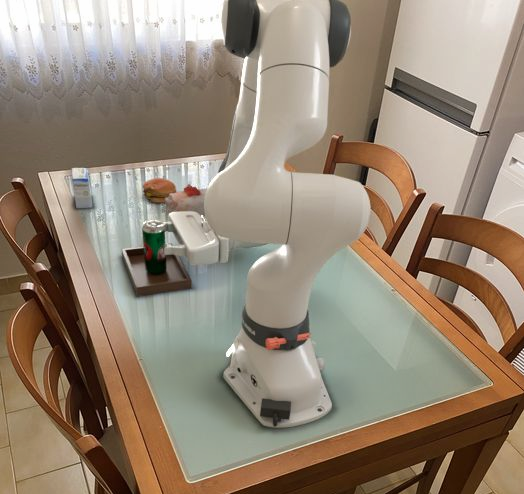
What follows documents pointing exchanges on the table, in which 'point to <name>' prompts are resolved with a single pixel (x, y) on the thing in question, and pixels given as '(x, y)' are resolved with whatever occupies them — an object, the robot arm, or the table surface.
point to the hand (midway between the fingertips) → (158, 240)
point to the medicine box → (81, 188)
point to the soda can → (154, 246)
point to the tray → (155, 283)
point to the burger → (158, 189)
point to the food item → (186, 201)
